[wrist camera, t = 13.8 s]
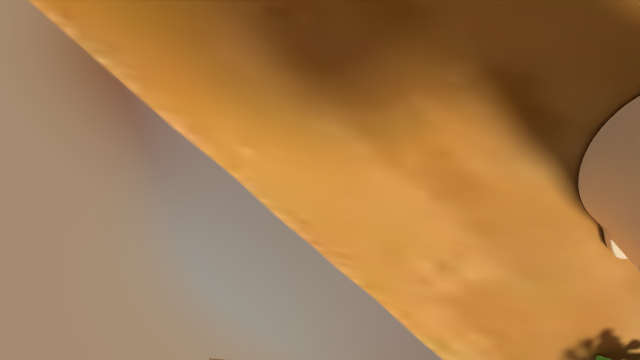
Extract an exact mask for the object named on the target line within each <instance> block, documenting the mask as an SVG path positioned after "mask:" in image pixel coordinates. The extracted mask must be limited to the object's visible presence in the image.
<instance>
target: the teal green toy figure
mask: <svg viewBox="0 0 640 360" xmlns="http://www.w3.org/2000/svg"><path fill="white" fill-rule="evenodd" d="M595 360H612V359H609V358H605V357H602V356H599V355H597V356H596V359H595ZM622 360H627V359H622Z"/></svg>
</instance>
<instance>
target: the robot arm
mask: <svg viewBox="0 0 640 360" xmlns="http://www.w3.org/2000/svg"><path fill="white" fill-rule="evenodd" d="M578 186H579V194H580V198H581V201H582V203H583V205H584V207H585V209H586V210H587V212H588V213H589V214H590V215H591V216H592V217H593V218H594V219H595V220H596V221H597V222H598V223H599V224H600V226H601V227H602V229H603V231H604V237H605V242H606V245H607V247H608V249H609V250H610V251H611V252H612V253H613V254H614V255H615V256H616V257H617V258H621V259H629V260H630V261H631V262H632V264H633V265H634V266H635V267H636V268H637V269H638V270H639V271H640V96H639V97H637V98H635V99H634V100H632V101H631V102H629V103H628V104H627V105H625V106H624V107H623V108H622V109H620V110H619V111H618V112H617V113H616V114H615V115H613V116H612V117H611V118H610V119H609V120H608V121H607V122H606V124H605V125H604V126H603V127H602V128H601V129H600V131H599V132H598V133H597V134H596V136H595V137H594V139H593V140H592V142H591V144H590V145H589V147H588V149H587V151H586V153H585V155H584V158H583V160H582V164H581V167H580V172H579V179H578ZM209 360H223V359H211V358H210V359H209Z"/></svg>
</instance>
